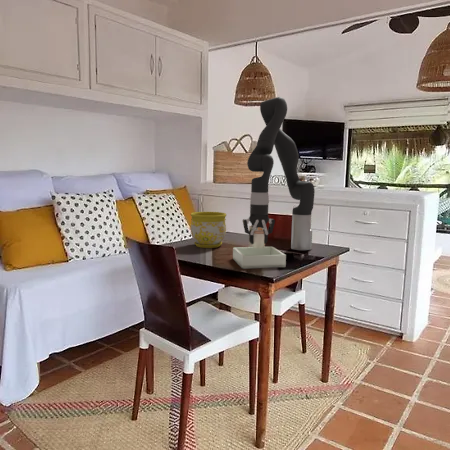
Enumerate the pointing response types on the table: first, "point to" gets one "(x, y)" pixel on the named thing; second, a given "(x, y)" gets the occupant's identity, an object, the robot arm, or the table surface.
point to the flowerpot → (208, 228)
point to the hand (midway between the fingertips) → (258, 243)
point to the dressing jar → (258, 239)
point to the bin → (259, 257)
